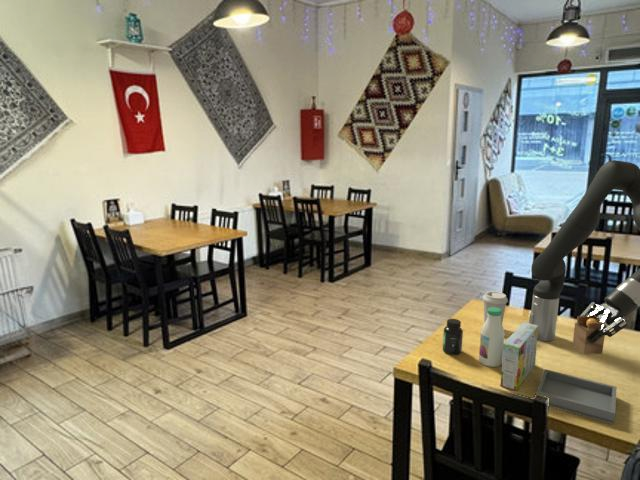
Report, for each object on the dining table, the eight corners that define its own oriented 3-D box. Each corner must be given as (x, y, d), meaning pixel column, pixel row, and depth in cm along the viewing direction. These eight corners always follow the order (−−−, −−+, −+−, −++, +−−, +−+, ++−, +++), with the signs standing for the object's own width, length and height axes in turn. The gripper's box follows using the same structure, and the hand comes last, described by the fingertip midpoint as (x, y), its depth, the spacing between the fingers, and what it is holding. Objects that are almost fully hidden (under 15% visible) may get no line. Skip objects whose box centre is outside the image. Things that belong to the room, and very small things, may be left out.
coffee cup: (484, 322, 195) (486, 289, 192) (507, 327, 190) (510, 293, 187) (477, 330, 188) (479, 295, 184) (501, 336, 182) (504, 300, 179)
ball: (584, 328, 134) (589, 320, 133) (584, 322, 137) (588, 315, 135) (595, 332, 133) (600, 324, 132) (595, 326, 136) (599, 318, 134)
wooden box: (590, 345, 139) (594, 315, 137) (602, 353, 134) (606, 323, 132) (572, 345, 139) (575, 316, 137) (583, 354, 134) (587, 323, 132)
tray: (535, 402, 138) (536, 391, 137) (543, 378, 151) (544, 369, 150) (613, 424, 128) (615, 413, 127) (614, 397, 140) (616, 386, 140)
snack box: (518, 360, 163) (523, 321, 160) (535, 365, 160) (540, 325, 156) (498, 385, 147) (502, 342, 144) (516, 391, 144) (521, 347, 140)
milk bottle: (501, 358, 165) (506, 306, 160) (502, 369, 157) (507, 314, 153) (478, 355, 167) (482, 304, 162) (478, 365, 160) (482, 312, 155)
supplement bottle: (440, 353, 169) (442, 323, 166) (444, 345, 175) (446, 316, 172) (459, 356, 166) (462, 326, 163) (462, 348, 172) (464, 319, 169)
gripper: (603, 281, 140) (561, 318, 142) (637, 297, 126) (590, 339, 128) (618, 296, 141) (575, 334, 143) (653, 314, 127) (606, 355, 129)
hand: (582, 336), depth 135 cm, fingers closed on wooden box, 5 cm apart
